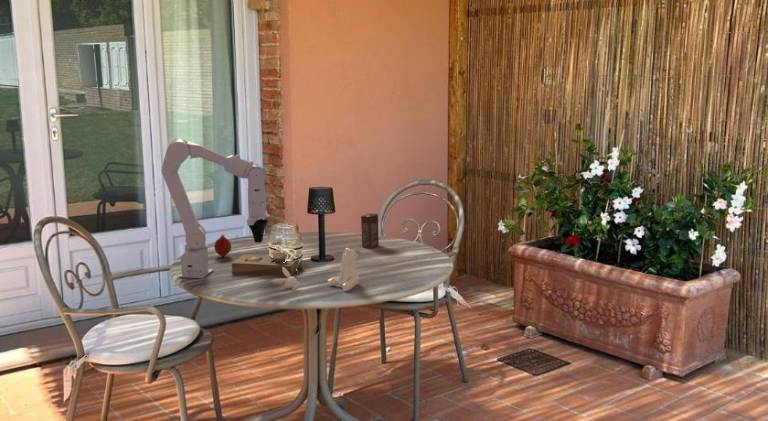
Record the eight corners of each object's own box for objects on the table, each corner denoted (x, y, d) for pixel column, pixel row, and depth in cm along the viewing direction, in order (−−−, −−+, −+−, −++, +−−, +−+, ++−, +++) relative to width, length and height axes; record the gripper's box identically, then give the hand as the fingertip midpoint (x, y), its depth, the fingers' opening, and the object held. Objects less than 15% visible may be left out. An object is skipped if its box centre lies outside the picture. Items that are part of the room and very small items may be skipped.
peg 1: (257, 270, 257) (257, 260, 257) (246, 269, 258) (245, 260, 258) (261, 266, 261) (261, 257, 261) (250, 266, 262) (249, 257, 261)
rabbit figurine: (290, 291, 236) (270, 277, 238) (290, 298, 239) (270, 284, 241) (303, 278, 239) (282, 264, 241) (303, 284, 242) (283, 270, 244)
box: (368, 243, 295) (368, 212, 293) (379, 245, 293) (379, 213, 291) (360, 247, 290) (360, 215, 288) (371, 248, 288) (371, 216, 286)
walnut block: (290, 276, 252) (290, 266, 251) (232, 273, 256) (231, 262, 255) (300, 267, 262) (300, 257, 262) (244, 264, 266) (243, 254, 265)
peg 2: (283, 263, 255) (283, 253, 255) (271, 262, 256) (271, 253, 255) (287, 260, 259) (286, 250, 258) (275, 259, 260) (275, 250, 259)
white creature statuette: (325, 285, 242) (325, 248, 240) (346, 279, 248) (346, 243, 246) (346, 291, 236) (345, 253, 233) (366, 286, 242) (366, 248, 239)
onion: (229, 259, 273) (228, 236, 272) (213, 258, 273) (212, 236, 272) (233, 254, 279) (232, 233, 278) (217, 254, 279) (216, 232, 278)
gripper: (261, 206, 247) (262, 247, 250) (275, 197, 261) (276, 237, 264) (240, 205, 249) (241, 246, 251) (255, 197, 262) (257, 236, 265)
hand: (258, 242), depth 258 cm, fingers closed
